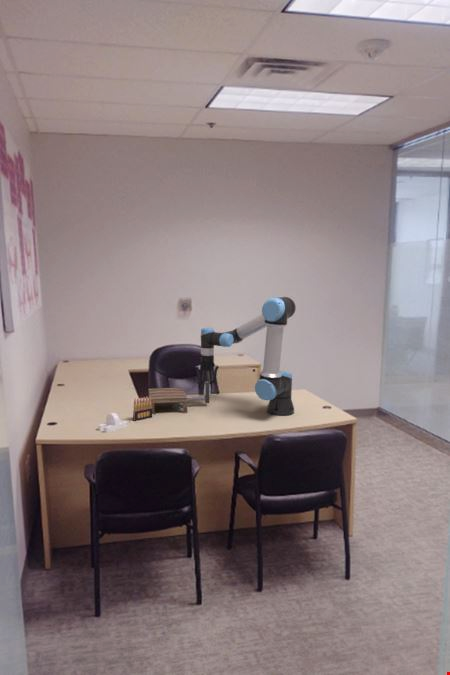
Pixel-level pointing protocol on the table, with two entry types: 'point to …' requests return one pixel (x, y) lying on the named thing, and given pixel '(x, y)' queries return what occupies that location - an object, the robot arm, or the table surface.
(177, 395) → the bench
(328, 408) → the table surface
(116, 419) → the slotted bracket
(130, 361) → the table surface
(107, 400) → the table surface
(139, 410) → the ammunition clip
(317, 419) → the table surface
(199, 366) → the robot arm
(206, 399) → the hook tool
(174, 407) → the puck
